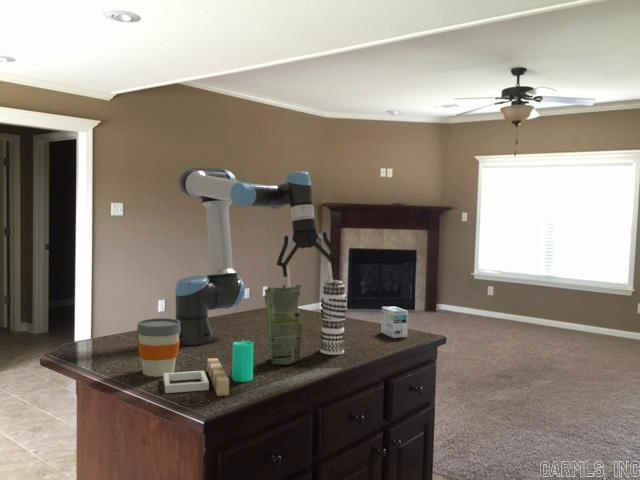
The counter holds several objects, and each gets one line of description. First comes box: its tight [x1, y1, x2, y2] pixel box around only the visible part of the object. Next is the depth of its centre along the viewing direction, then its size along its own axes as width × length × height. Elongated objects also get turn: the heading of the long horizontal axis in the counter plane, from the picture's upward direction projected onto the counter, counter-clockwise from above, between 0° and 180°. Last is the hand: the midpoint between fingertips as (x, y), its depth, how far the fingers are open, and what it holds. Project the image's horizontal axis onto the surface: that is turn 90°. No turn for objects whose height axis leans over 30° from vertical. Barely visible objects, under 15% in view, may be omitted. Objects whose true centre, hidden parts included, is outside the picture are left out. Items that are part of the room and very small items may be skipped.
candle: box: [231, 340, 254, 383], centre depth 161 cm, size 6×6×12 cm
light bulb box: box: [380, 305, 409, 339], centre depth 223 cm, size 11×7×11 cm, turn 22°
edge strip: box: [206, 357, 230, 397], centre depth 157 cm, size 22×3×4 cm, turn 18°
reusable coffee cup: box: [136, 317, 181, 378], centre depth 165 cm, size 13×13×15 cm
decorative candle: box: [319, 279, 348, 356], centre depth 194 cm, size 9×9×25 cm
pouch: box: [264, 284, 303, 366], centre depth 180 cm, size 11×12×25 cm
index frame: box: [162, 370, 210, 394], centre depth 154 cm, size 11×11×2 cm
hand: (310, 284), depth 178 cm, fingers open, 13 cm apart
